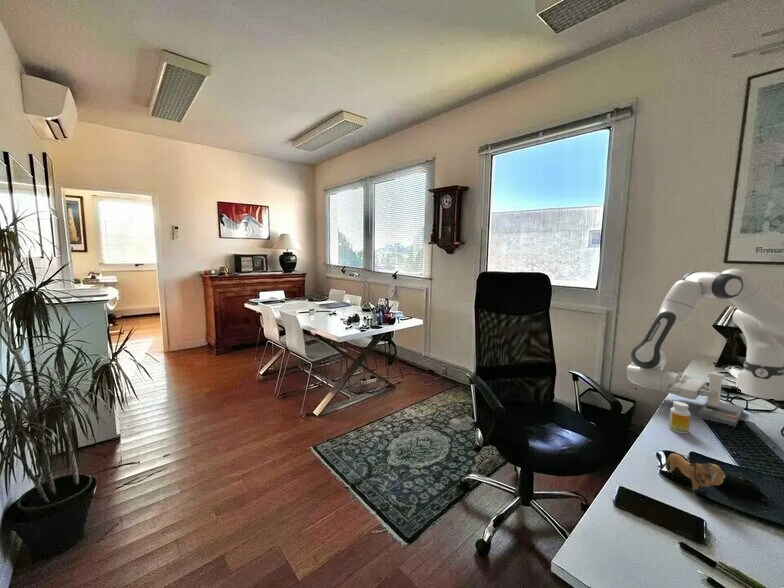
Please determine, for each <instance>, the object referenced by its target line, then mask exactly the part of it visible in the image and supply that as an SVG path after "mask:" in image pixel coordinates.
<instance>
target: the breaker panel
mask: <svg viewBox="0 0 784 588" xmlns="http://www.w3.org/2000/svg"><path fill="white" fill-rule="evenodd" d="M744 410H745V407H743V406H739V405H734V404H731V403H726V402H722V401H719V407H718V409H716V408H712V407H708V406H707V401H706V402H705V403H704V405H703V406H702V407H701V409H700V410H699V411H698V412H697V418H698V419H702V420H706V421H709V420H711V421H710V422H712V421H716V422H721V423H725V424H729V425H733V426H736V427H737V425H738V423H739V421H740V419H741V418H742V415H743V414H744ZM738 420H739V421H738ZM716 422H715V423H716ZM737 422H738V423H737ZM736 424H737V425H736Z"/></svg>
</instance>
